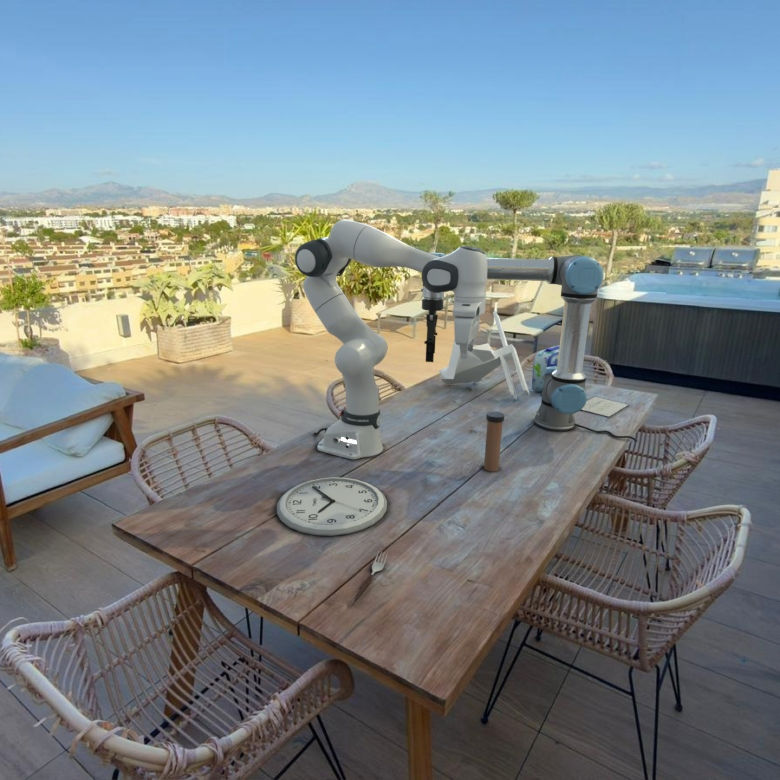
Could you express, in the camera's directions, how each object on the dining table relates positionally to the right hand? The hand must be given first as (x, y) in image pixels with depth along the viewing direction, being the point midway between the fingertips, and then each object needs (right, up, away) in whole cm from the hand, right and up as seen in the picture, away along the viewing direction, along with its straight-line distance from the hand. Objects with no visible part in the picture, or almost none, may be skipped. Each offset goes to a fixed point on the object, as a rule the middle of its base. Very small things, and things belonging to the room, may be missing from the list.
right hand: (430, 357), depth 190 cm
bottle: (+18, -37, -23) cm, 47 cm away
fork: (-19, -53, -77) cm, 95 cm away
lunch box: (+62, -12, +59) cm, 86 cm away
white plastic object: (+27, -13, +54) cm, 61 cm away
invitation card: (+77, -19, +37) cm, 87 cm away
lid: (+18, -20, -28) cm, 39 cm away
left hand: (+7, -2, -39) cm, 40 cm away
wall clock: (-30, -43, -47) cm, 71 cm away
